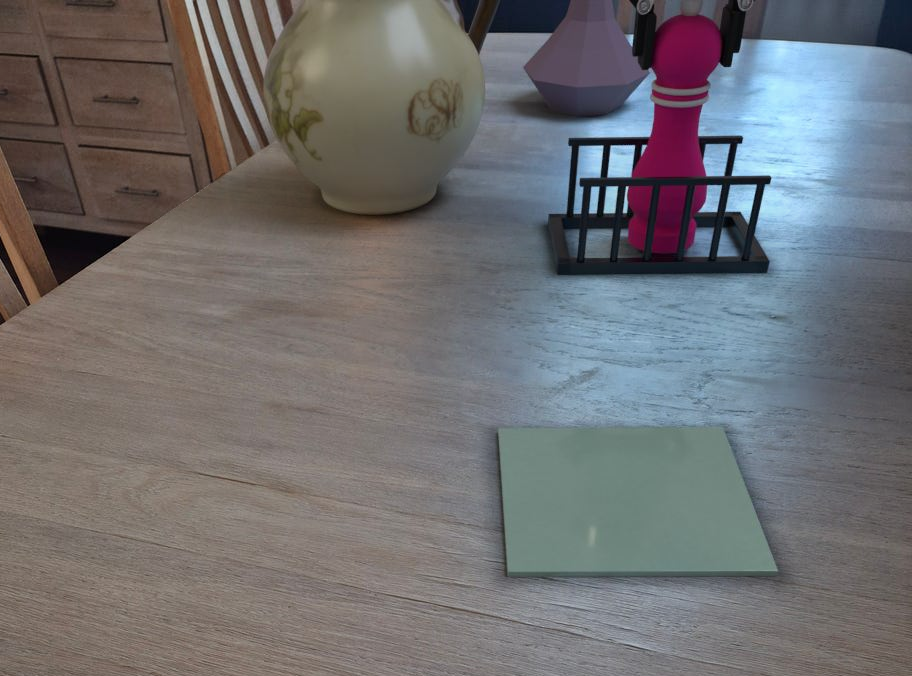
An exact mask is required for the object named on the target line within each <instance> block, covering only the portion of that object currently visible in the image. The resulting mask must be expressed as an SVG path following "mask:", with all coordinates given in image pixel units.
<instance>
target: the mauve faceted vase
mask: <svg viewBox="0 0 912 676" xmlns="http://www.w3.org/2000/svg"><path fill="white" fill-rule="evenodd" d="M522 68H523V70H524V71H525V73H526V75H527V77H529V80H531V82H532V84H533V85H534V86H535V88H536V90H537V92H538V93H539V94H540V96H541V97H542V99H543V101H544V102H545V103H546V105H547V107H549V108H550V110H551V111H552V112H553V113H556V114H560V115H565V116H572V117H578V118H579V117H596V116H607V115H608V114H610V113H613V112H614V111H616V110H618V109H620V108H621V107H622V105H623V104H624V103H625V102H626V101H627V100H628V98H629V97H630V96H631V95H632V94H633V93H634V92H635V91H636V90H637V88H639V86H640V85H641V84H642V83H643V82H644V81H645V79H646V78H648V76H649V75H650V74H651V72H650V69H649V70H642V69H641V67H640V65H639V64H638V57H633V55H632V45H631V43H630V42H629V39H628V38H627V36H626V34H625V33H624V31H623V30H622V28H621V26H620V24H619V23H618V21H617V19H616V17H615V11H614V3H613V0H570V2H569V6H568V9H567V12H566V15H565V16H564V18H563V19H562V20H561V22H560V23H559V25H558V26H556V28H555V29H554V31H553V32H552V33H551V35H550V36H549V37H548V39H547V40H546V41H545V42H544V43H543V44H542V45H541V46H540V48H539V49H538V50H537V51H536V52H535V53H534V55H532V56H531V58H530V59H529V60H528V61H527V62H526V63H525V64H524V65H523V66H522Z"/></svg>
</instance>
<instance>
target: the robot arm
mask: <svg viewBox="0 0 912 676" xmlns="http://www.w3.org/2000/svg"><path fill="white" fill-rule="evenodd" d="M628 1H629V2H630V3H631V5H632V6H633V7H634V8H635V14H634V25H633V33H632V34H633V35H632V45H631V46H632V55H633V57H638V64H639V65H640V67H641V69H642V70H649V71H650V69H652V68H651V66H652V57H653V48H654V39H655V32H656V31H657V29H656V28H657V21H658V16H657V14H656V13H655V4H654V3H655V1H656V0H628ZM754 2H756V0H728V1H727V3H725V6H723V7H722V12H721V19H720V24H719V25H720V26H719V30H720V33H721V36H722V55H721V58H720V61H719V65H720V66H722V67H723V68H731V67H732V65H733V59H734V54H740V51H741V47H742V40H743V34H744V28H745V22H746V16H747V11H749V10H750V9H751V8H752V7H753V5H754Z"/></svg>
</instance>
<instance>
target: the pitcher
mask: <svg viewBox="0 0 912 676" xmlns="http://www.w3.org/2000/svg"><path fill="white" fill-rule="evenodd" d="M500 2H501V0H479V2H478V5H477V8H476V10H475V14H474V16H473V19H472V22H471V25H470V28H469V30H468V33H467V31H466V27H465V19H464V15H463V13H462V10H461V9H460V6H459V4H458V1H457V0H301V1H300V2H299V4H298V5H297V7H296V9H295V11H294V12H293V13H292V14H291V17H290V18H289V19H288V21H287V22H286V23H285V25H284V27H283V29H282V31H280V34H279V36H278V37H277V39H276V41H275V43H274V45H273V47H272V49H271V51H270V53H269V56H268V58H267V62H266V65H265V69H264V75H263V83H262V94H263V104H264V109H265V113H266V114H265V115H266V117H267V120H268V121H267V122H268V123H269V126H270V128H271V131H272V132H273V134H274V137H275V139H276V141H277V143H278V145H279V146H280V148H281V149H282V151H283V152H284V154H285V155H286V157H288V159H289V160H290V161H291V162H292V164H293V165H294V166H295V167H296V169H298V170H299V171H300V172H301V174H303V176H305V177H306V179H308V180H309V181H310V182H311V183H313V184H314V185H315V186H316V187H318V188H319V189H320V192H321V196H322V199H323V201H324V202H325V203H326V204H327V205H328V206H330V207H331V208H333V209H335V210H337V211H340V212H343V213H349V214H353V215H365V216H380V215H381V216H382V215H383V216H384V215H393V214H399V213H404V212H408V211H412V210H415V209H418V208H420V207H423V206H424V205H426V204H428V203H429V202H430V201H431V200H433V198H435V196H436V193H437V189H438V184H439V183H440V182H441V181H442V180H443V179H444V178H445V177H447V175H449V173H451V171H452V170H453V169H454V168H455V167H456V166H457V164H458V163H459V162H460V161H461V159H462V158H463V156H464V155H465V153H466V152H467V150H468V149H469V147H470V145H471V144H472V142H473V140H474V139H475V136H476V133H477V131H478V128H479V126H480V125H481V121H482V120H481V119H482V116H483V112H484V107H485V103H486V101H485V100H486V77H485V71H484V67H483V63H482V60H481V58H480V54H481V51H482V49H483V46H484V43H485V40H486V37H487V35H488V33H489V30H490V28H491V25H492V23H493V21H494V18H495V16H496V14H497V11H498V8H499V4H500Z"/></svg>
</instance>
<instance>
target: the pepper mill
mask: <svg viewBox="0 0 912 676" xmlns="http://www.w3.org/2000/svg"><path fill="white" fill-rule="evenodd" d="M703 2H704V1H703V0H681V1H680V5H679V9H680V14H678V15H674V16H672V17H670V18H668V19H666V20H665V21H663V23H661V24H660V25H659V27H658V28H657V29H656V30H655V39H654V48H653V57H652V66H651V68H650V69H651V70H652V71H653V73H654V75H655V79H654V80H652V81H651V84H650V85H651V93H650V94H649V100H650V101H651V102H652V103H653V119H652V120H653V121H652V127H651V132H650V136H649V137H650V138H649V141H648V144H647V145H645V148H644V150H643V151H642V153H641V158H640V160H639V161H638V163H637V165H636V167H635V169H634V171H633V173H632V172H631V174H632V176H631V175H630V177H686V176H707V171H706V168H705V163H704V159H703V160H702V156H701V152H700V148H699V139H698V136H699V127H700V118H701V113H702V110H703V105H704V104H706V103H707V102H708V101H709V99H710V94H709V90H710V89H711V87H712V84H711V82H710V81H709V80H708V78H709V77H710V76H711V75H712V74H713V72H714V71H715V70H716V68H717V67H718V65H720V63H719V61H720V58H721V55H722V36H721V33H720V27H719V26H718V25H717V24H716V23H715V21H714V20H712V19H711V18H709V17H707V16H705V15H703V14H700V12H701V11H702V8H703V6H704V5H703ZM627 187H628V188H627V190H626V201H627V205H628V204H629V206H630V208H631V209H632V211H633V212H634V214H635V216H634V217H633V218H632V219H631V220H630V222H629V228H627V229H628V230H627V232H628V233H627V243H628V244H629V245H630V246H631V247H633V248H635V249H637V250H639V251H642V252H644V245H645V237H646V230H647V223H648V216H649V208H650V201H651V194H652V187H653V186H627ZM686 190H687V186H661V188H660V195H659V202H658V209H657V216H656V223H655V230H654V237H653V244H652V251H651V254H676V252H677V246H678V240H679V234H680V227H681V221H682V215H683V209H684V203H685V197H686ZM707 192H708V185H696V186H695V192H694V198H693V204H692V210H691V216H690V222H689V228H688V234H687V240H686V246H685V251H686V250H688V249H689V248H691V247H692V246H693V245H694V243H695V237H696V232H697V228H696V226H697V225H696V222H695V220H694V219H693V218H692V217H693V216H694V215H695V214H696V213H697V212H700V211H701V209H703V207H704V205H705V203H706V201H707V194H708V193H707Z"/></svg>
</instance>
